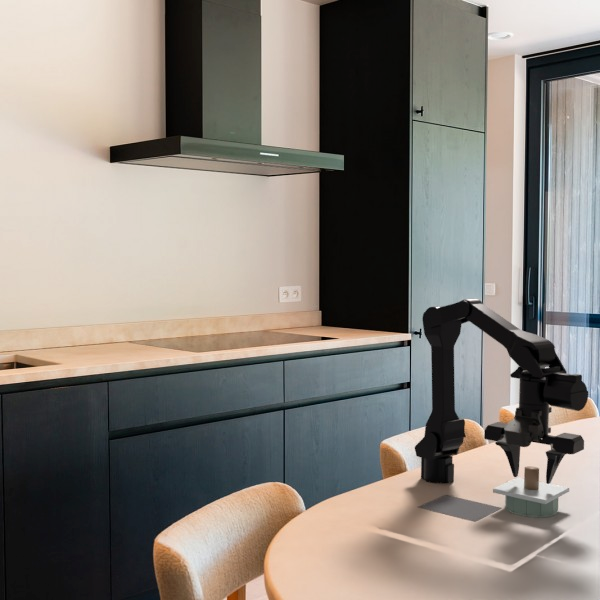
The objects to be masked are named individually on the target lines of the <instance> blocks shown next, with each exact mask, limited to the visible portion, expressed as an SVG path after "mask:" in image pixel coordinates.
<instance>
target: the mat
mask: <svg viewBox="0 0 600 600" xmlns="http://www.w3.org/2000/svg"><path fill="white" fill-rule="evenodd" d="M417 508H419V509H423V510H427V511H430V512H431V511H432V512H435V513H438V514H442V515H446V516H450V517H455V518H458V519H462V520H466V521H470V522H475V523H476V522H477V521H480V520H481V519H483V518H486V517H488V516H489V515H491V514H493V513H496V512H498V511H500V510H501V509H503V507H500V506H495V505H491V504H487V503H482V502H478V501H475V500H469V499H467V498H461V497H458V496H453V495H449V494H444V495H442V496H439V497H437V498H435V499H432V500H430V501H428V502H425V503H423V504H421V505H419V506H417Z"/></svg>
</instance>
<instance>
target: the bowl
mask: <svg viewBox="0 0 600 600" xmlns="http://www.w3.org/2000/svg"><path fill="white" fill-rule="evenodd" d="M504 499H505V500H504V504H505V509H506V510H507V511H508V512H510V513H512V514H515V515H518V516H523V517H528V518H547V517H553V516H555V515H557V513H558V511H559V497H558V498H556V499H554V500H552V501H551V502H549V503H547V504H542V503H538V502H533V501H529V500H524V499H520V498H515V497H511V496H506V495H504Z"/></svg>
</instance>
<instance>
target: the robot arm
mask: <svg viewBox="0 0 600 600" xmlns="http://www.w3.org/2000/svg"><path fill="white" fill-rule="evenodd" d="M424 311H425V312H423V314H422V318H421V319H422V320H421V321H422V325H423V334H424V336H425V338H426V340H427V341H428V342H427V343H429V345H430V349H431V350H430V351H431V352H430V353H431V357H430V358H431V405H432V406H431V413H430V415H429V417H428V418H427V421H426V423H425V427H424V429H425V430H424V437H423V438H422V439H420V441H419V442H418V443H416V445H414V451H415V456H416V457H418V458H420V459H421V461H420V462H421V465H420V479H422V480H424V481H425V482H428V483H433V484H444V485H445V484H446V485H449V484H451V483H454V482H455V481H454V480H455V464H454V462H453V456H457V455H458V453H459V450H460V447H461V446H462V445H463V444H464V441H465V440H464V439H465V438H466V436H467V434H466V431H465V428H466V427H465V426H466V421H465V419H464V418H460V417H459V416H458V414H457V412H456V406H455V405H456V401H455V398H456V397H455V391H456V389H455V346H456V343H457V342H458V339H459V337H460V335H461V331H462V330H461V329H462V324H465V323H468V322H470V323H471V324H473V325H474V326H475V327H477V328H478V329H479V330H480V331H482V332H483V333H485V334H486V335H488V336H489V337H490V338H492V339H494V341H496V342H498V343H499V344H500V345H502V346H503V347H504V348H505V349H506V351H507V353H508V355H509V358H511V360H513V361H514V363H515V364H516V365H517V366H518V367H517V368H516V369H515V370H514V371H513V372H512V373H510V378H514V379H519V389H518V390H519V391H518V394H519V395H518V397H519V399H518V407H516V408H515V413H514V416H513V417H514V418H513V419H511V420H510V421H509V422H501V421H498V422H494V423H491V424H487V426H486V427H485V428H484V430H483V431H484V435H483V438H484V440H487V441H493V442H495V445H496V446H499V447H500V448H501V449H502V450H503V451H504V454H505V456H506V458H507V461H508V464H509V466H510V470H511V473H512V475H513V477H514V478H517V477H519V471H520V461H521V460H520V458H521V448H527V447H529V446H530V445H531V443H536V444H542V445H546V446H547V445H548V446H550V449H548V450H546V451H545V455H546V458H547V459H546V460H547V463H546V473H545V481H546V482H545V483H547V484H552V481H553V478H554V476H555V474H556V472H557V469H558V468H559V466H560V464H561V462H562V460H563V458H564V457H565V455H575V454H578V453H579V452H581V451H583V450H585V440H584V438H583V436H582V435H581V434H580V435H579V434H575V433H569V432H562V433H560V434H557V435H550V434H551V432H552V427H550V426H549V419H550V418H549V415H550V413H552V407H555V408H561V409H566V410H571V411H575V412H579V411H580V412H581V411H582V410H584V408H585V407H586V405H587V403H588V399H589V391H588V387H587V385H586V384H585V382H584V381H583V375H582V374H579V373H573V374H571V373H567V370H566V368H565V366H564V365H563V363H562V362H561V360H560V357H559V356H558V354H557V353H556V349H555V344H554V343H553V342H552V341H551V340H549V339H547V338H545V337H542V336H540V335H538V334H535V333H532V332H528V331H524V330H522V329H520V328H519V327H517V326H516V325H514V324H513V323H511V322H510V321H508V319H506V318H504V317H503V316H501V314H499V313H497V312H495V311H494V310H493V309H491V308H490V307H488V306H487V305H486V304H484V302H482V301H481V300H480V299H478V298H472V299H471V298H470V299H462V300H460V301H457V302H454V303H451V304H448V305H441V306H438V305H437V306H430V307H427V309H426V310H424Z"/></svg>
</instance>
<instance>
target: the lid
mask: <svg viewBox="0 0 600 600" xmlns="http://www.w3.org/2000/svg"><path fill="white" fill-rule="evenodd" d="M492 493H493V494H498V495H502V496H505V495H506V496H511V497H515V498H520V499H524V500H529V501H533V502H538V503H542V504H547V503H549V502H551V501H552V500H554V499H556V498H558V499H559V498H560V497H562V496H563V495H565V494H568V493H570V487H569V486H564V485H563V486H562V485H558V484H554V483H550V484H547V483H546V482H544V481H540V468H539V467H536V466H525V467H524V477H521V476H517V477H514V479H511V480H509V481H507V482H504V483H502V484H500V485H498V486H495V487H494V488H492Z"/></svg>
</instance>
